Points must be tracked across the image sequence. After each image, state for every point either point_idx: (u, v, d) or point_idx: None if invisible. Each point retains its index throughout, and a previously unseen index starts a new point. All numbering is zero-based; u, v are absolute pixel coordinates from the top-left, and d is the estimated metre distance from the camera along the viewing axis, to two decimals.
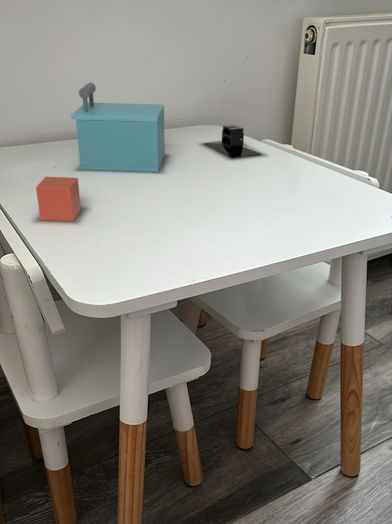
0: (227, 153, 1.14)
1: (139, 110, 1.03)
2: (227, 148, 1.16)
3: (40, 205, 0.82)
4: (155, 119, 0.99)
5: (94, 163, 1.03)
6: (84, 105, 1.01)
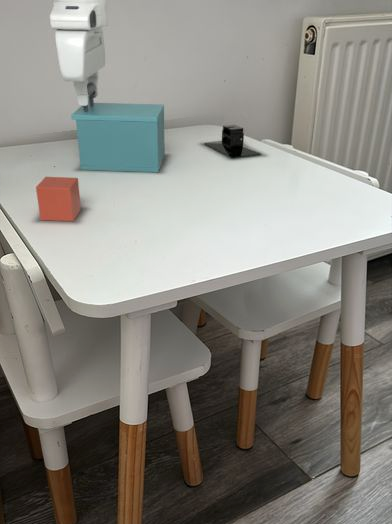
0: (227, 153, 1.14)
1: (139, 110, 1.03)
2: (227, 148, 1.16)
3: (40, 205, 0.82)
4: (155, 119, 0.99)
5: (94, 163, 1.03)
6: None
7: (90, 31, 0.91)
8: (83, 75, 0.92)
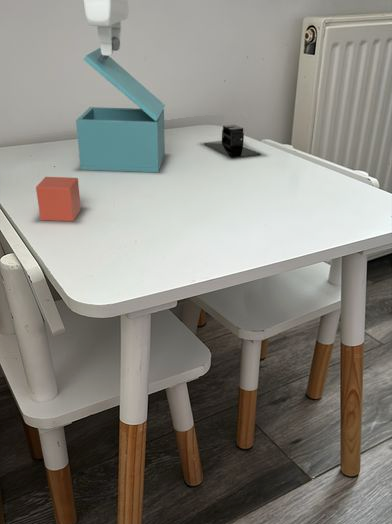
0: (227, 153, 1.14)
1: (144, 96, 1.02)
2: (227, 148, 1.16)
3: (40, 205, 0.82)
4: (156, 118, 0.98)
5: (94, 163, 1.03)
6: (102, 55, 0.96)
7: None
8: (109, 19, 0.87)
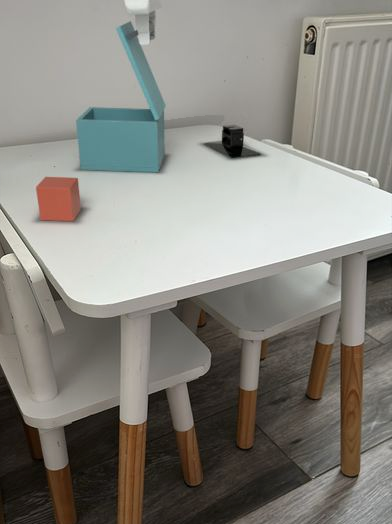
0: (227, 153, 1.14)
1: (153, 91, 1.01)
2: (227, 148, 1.16)
3: (40, 205, 0.82)
4: (156, 117, 0.98)
5: (94, 163, 1.03)
6: (133, 33, 0.94)
7: None
8: (148, 6, 0.86)
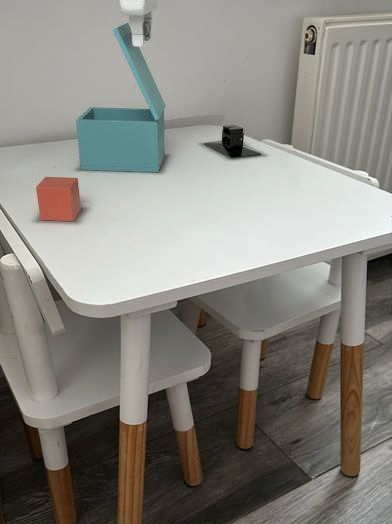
0: (227, 153, 1.14)
1: (152, 91, 1.01)
2: (227, 148, 1.16)
3: (40, 205, 0.82)
4: (156, 118, 0.98)
5: (94, 163, 1.03)
6: (130, 34, 0.94)
7: None
8: (144, 8, 0.86)
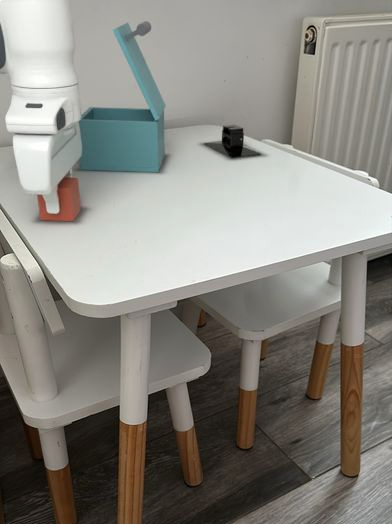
0: (227, 153, 1.14)
1: (152, 91, 1.01)
2: (227, 148, 1.16)
3: (40, 205, 0.82)
4: (156, 118, 0.98)
5: (94, 163, 1.03)
6: (130, 34, 0.94)
7: (58, 133, 0.73)
8: (49, 188, 0.73)
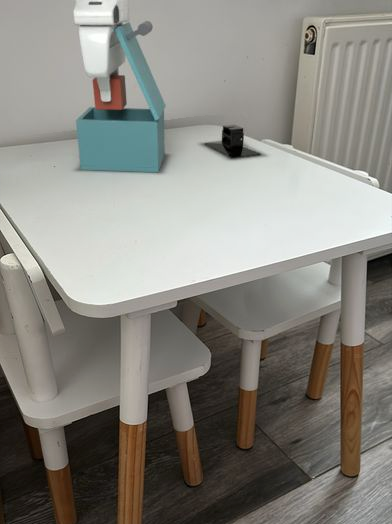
0: (227, 153, 1.14)
1: (153, 91, 1.01)
2: (227, 148, 1.16)
3: (95, 96, 1.00)
4: (156, 117, 0.98)
5: (94, 163, 1.03)
6: (132, 34, 0.94)
7: (113, 26, 0.91)
8: (107, 71, 0.91)
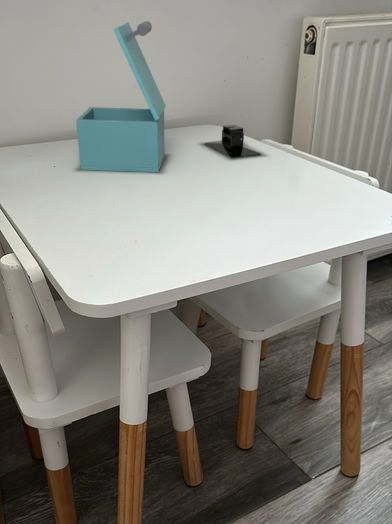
0: (227, 153, 1.14)
1: (153, 91, 1.01)
2: (227, 148, 1.16)
3: None
4: (156, 118, 0.98)
5: (94, 163, 1.03)
6: (131, 34, 0.94)
7: None
8: None
